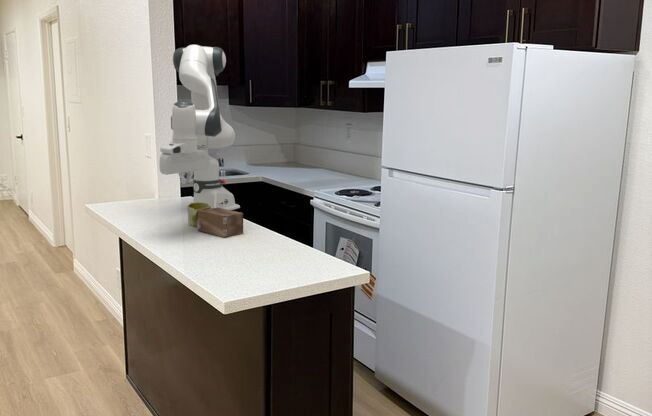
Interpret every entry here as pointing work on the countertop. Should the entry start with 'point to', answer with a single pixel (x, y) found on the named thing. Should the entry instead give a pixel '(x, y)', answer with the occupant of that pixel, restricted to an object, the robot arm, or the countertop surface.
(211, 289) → the countertop surface
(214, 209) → the cabinet
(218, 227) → the door
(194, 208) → the mug
